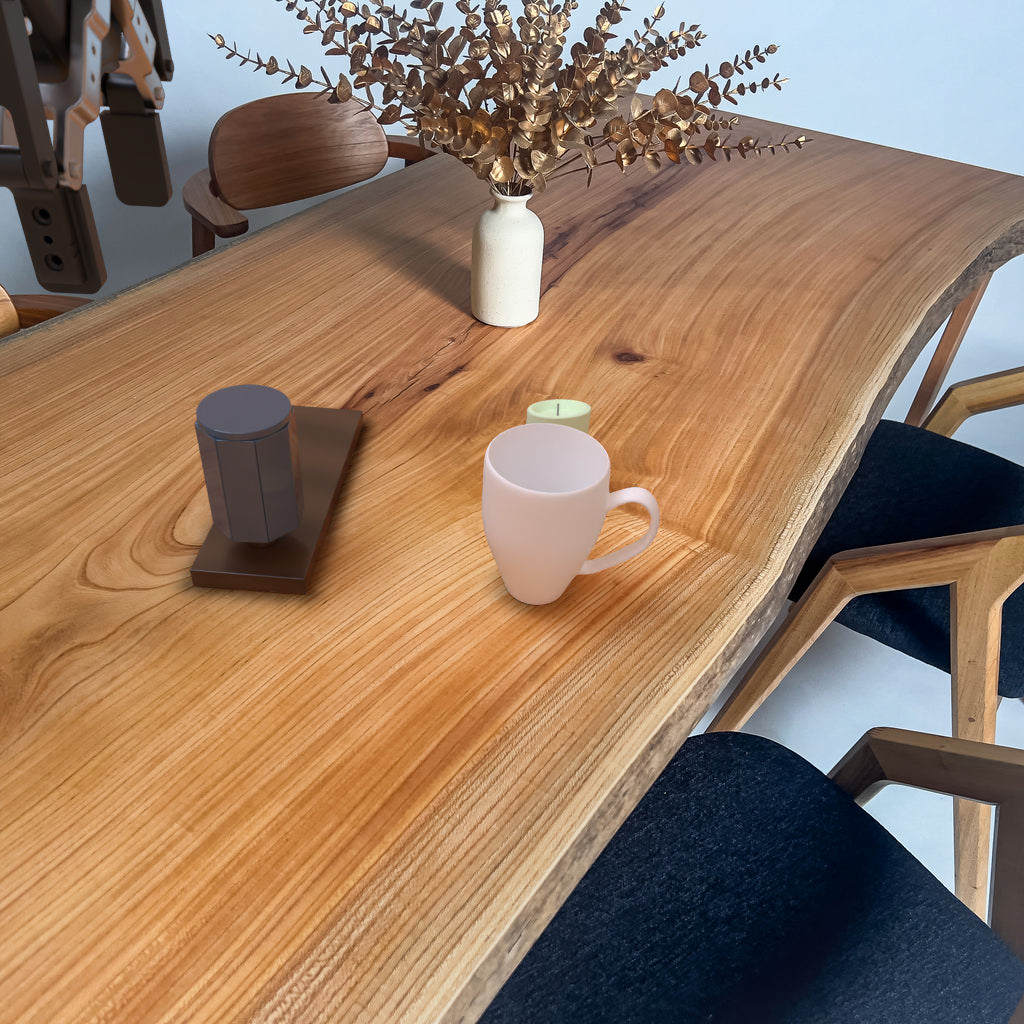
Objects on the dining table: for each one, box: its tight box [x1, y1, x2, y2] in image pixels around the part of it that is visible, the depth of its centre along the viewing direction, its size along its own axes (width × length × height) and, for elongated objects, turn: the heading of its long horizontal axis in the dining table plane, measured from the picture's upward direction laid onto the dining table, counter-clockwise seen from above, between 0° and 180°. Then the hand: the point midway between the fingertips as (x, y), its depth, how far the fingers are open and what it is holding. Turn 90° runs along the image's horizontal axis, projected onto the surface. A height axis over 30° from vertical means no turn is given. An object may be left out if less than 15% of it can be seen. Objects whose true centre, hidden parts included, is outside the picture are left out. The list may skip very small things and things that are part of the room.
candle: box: [525, 398, 592, 435], centre depth 73 cm, size 5×5×8 cm
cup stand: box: [189, 404, 364, 595], centre depth 68 cm, size 22×8×12 cm, turn 177°
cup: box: [194, 383, 305, 543], centre depth 62 cm, size 6×6×9 cm
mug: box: [481, 423, 661, 606], centre depth 62 cm, size 12×8×11 cm
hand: (114, 242), depth 36 cm, fingers open, 8 cm apart
